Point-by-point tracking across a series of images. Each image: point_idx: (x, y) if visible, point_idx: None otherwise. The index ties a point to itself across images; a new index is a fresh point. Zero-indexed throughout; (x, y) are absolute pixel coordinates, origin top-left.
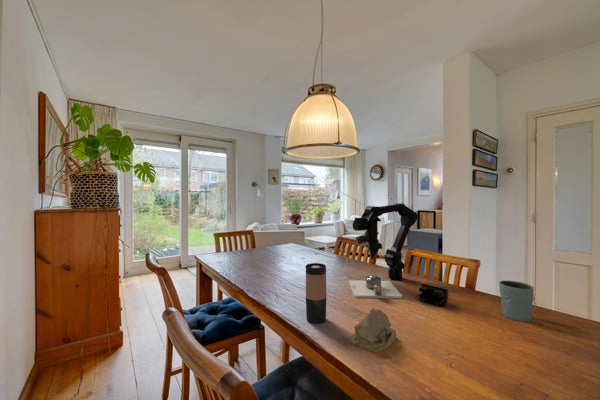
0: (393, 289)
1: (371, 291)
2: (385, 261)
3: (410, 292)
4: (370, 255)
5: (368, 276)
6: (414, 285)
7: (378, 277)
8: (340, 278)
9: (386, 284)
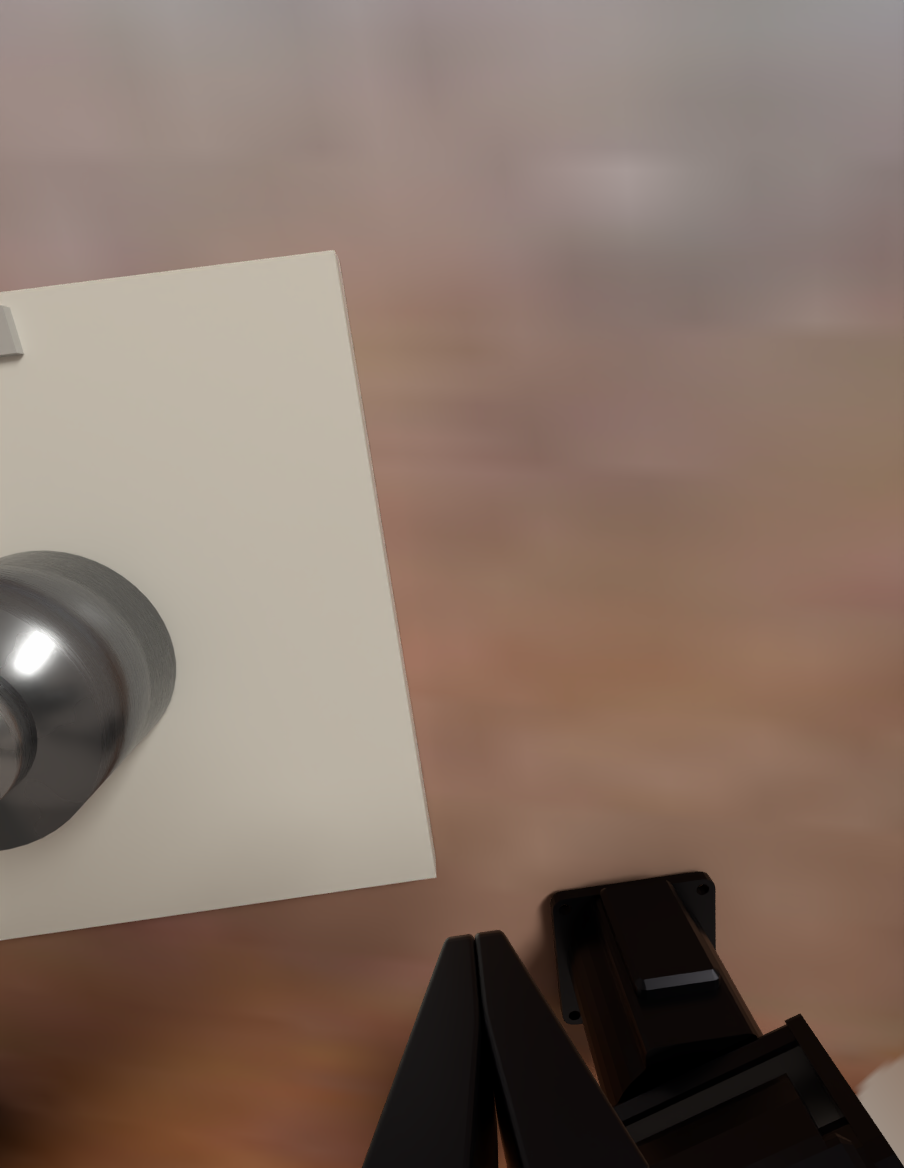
0: (80, 891)
1: None
2: (791, 1096)
3: (130, 1024)
4: (447, 1063)
5: (19, 643)
6: (388, 1085)
7: (21, 817)
8: (543, 79)
9: (263, 832)
